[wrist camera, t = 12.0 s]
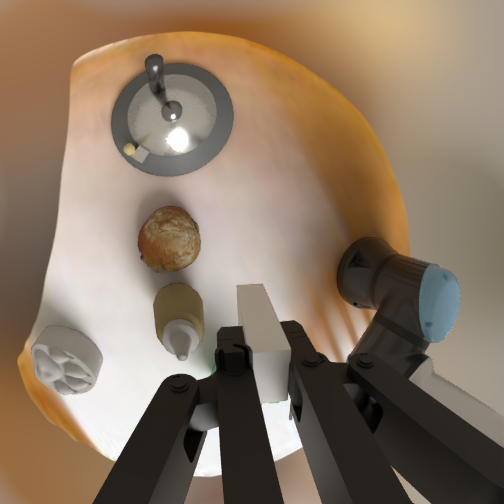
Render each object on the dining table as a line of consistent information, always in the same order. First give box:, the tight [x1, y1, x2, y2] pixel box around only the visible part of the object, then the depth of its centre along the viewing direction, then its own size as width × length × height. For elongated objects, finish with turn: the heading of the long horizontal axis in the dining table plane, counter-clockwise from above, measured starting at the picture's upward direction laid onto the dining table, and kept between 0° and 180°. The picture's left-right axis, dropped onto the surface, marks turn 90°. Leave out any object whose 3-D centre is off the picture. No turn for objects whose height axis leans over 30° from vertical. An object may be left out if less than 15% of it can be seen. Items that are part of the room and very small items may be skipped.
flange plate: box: [128, 54, 217, 164], centre depth 33 cm, size 14×16×10 cm
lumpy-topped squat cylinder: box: [31, 325, 103, 395], centre depth 37 cm, size 10×13×9 cm
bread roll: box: [138, 206, 201, 273], centre depth 41 cm, size 10×10×8 cm
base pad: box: [111, 63, 233, 177], centre depth 37 cm, size 20×20×4 cm
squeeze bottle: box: [153, 283, 204, 361], centre depth 36 cm, size 8×8×18 cm
